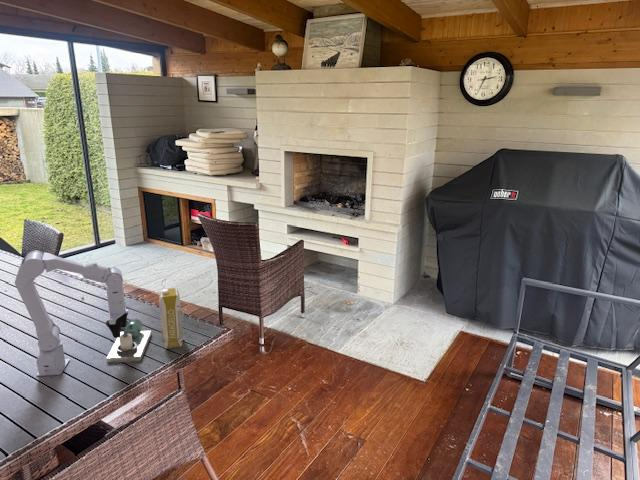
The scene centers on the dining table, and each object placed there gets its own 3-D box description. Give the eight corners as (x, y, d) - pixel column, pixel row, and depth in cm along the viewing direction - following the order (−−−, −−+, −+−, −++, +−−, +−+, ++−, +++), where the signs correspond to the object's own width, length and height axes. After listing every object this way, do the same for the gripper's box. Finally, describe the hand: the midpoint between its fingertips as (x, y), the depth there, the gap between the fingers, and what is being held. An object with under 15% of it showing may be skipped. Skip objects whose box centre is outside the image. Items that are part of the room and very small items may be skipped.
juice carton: (162, 338, 183) (157, 286, 176) (182, 335, 186) (178, 283, 179) (163, 350, 175) (158, 295, 168) (184, 347, 178) (180, 293, 170)
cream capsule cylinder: (131, 352, 169) (129, 336, 167) (119, 353, 169) (117, 337, 166) (134, 346, 173) (132, 331, 171) (122, 347, 173) (120, 331, 171)
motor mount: (140, 361, 168) (138, 342, 165) (107, 362, 166) (104, 344, 163) (151, 334, 186) (149, 317, 184) (121, 336, 184) (119, 319, 182)
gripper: (122, 308, 159) (125, 341, 163) (132, 291, 172) (135, 322, 177) (101, 309, 158) (105, 342, 162) (113, 292, 171) (116, 323, 176)
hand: (119, 332), depth 169 cm, fingers open, 7 cm apart
